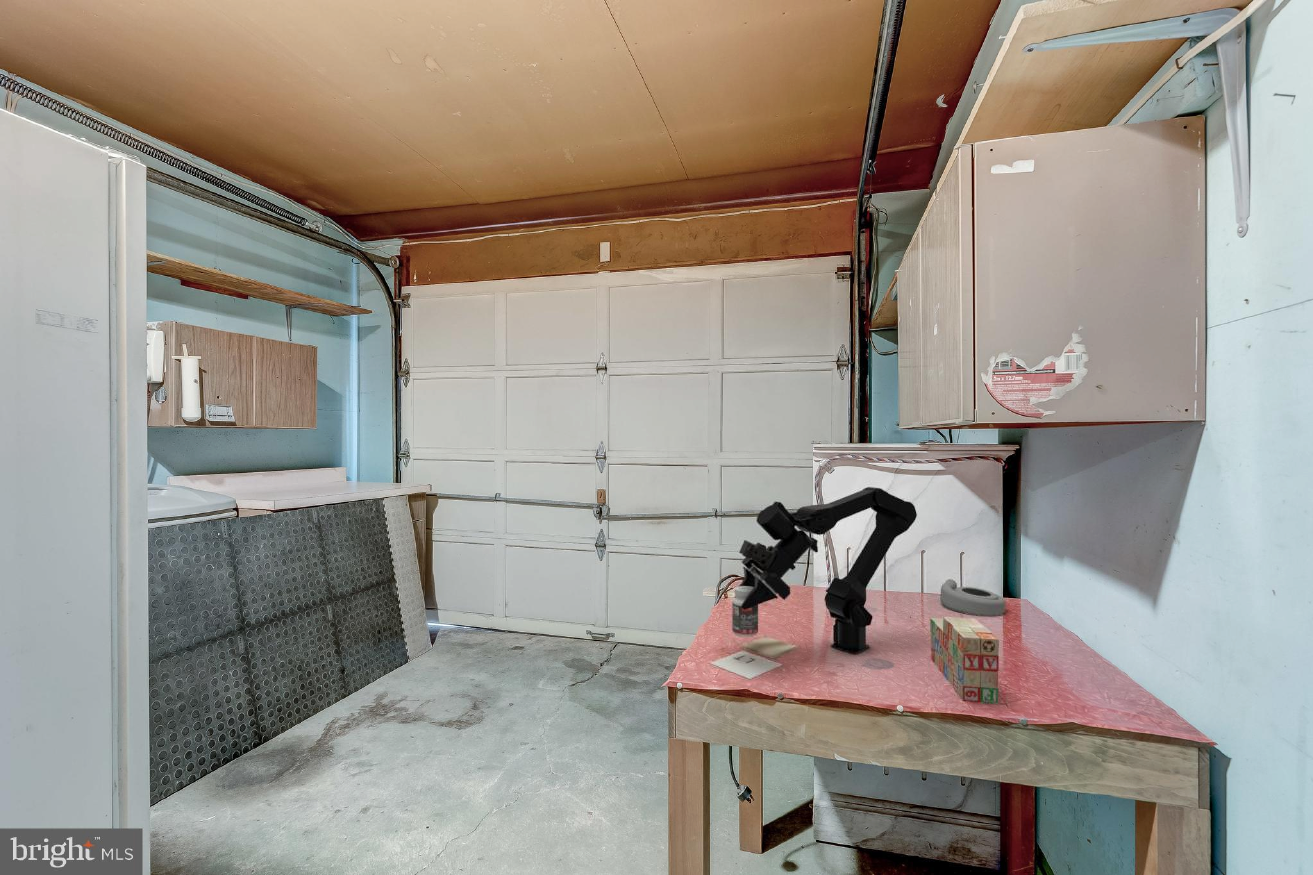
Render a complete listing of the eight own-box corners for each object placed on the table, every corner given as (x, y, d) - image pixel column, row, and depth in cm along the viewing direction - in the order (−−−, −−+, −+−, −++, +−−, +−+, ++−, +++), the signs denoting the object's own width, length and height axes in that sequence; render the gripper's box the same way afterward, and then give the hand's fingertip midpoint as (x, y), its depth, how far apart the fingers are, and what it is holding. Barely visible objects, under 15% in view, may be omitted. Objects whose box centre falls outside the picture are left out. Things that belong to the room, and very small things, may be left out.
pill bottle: (743, 639, 123) (743, 593, 124) (727, 631, 128) (726, 587, 128) (763, 634, 126) (763, 589, 126) (747, 627, 131) (746, 583, 131)
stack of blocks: (930, 659, 128) (930, 603, 128) (960, 661, 127) (960, 605, 127) (962, 702, 107) (962, 636, 107) (999, 705, 106) (999, 638, 106)
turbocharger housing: (998, 625, 155) (1008, 612, 166) (1000, 601, 155) (1010, 590, 166) (931, 609, 166) (945, 597, 177) (933, 586, 165) (946, 577, 177)
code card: (782, 665, 124) (782, 664, 124) (749, 679, 117) (749, 678, 117) (742, 651, 132) (742, 650, 132) (710, 663, 125) (710, 663, 125)
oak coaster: (796, 648, 134) (796, 646, 134) (773, 658, 128) (773, 655, 128) (765, 638, 140) (765, 636, 140) (741, 647, 134) (741, 645, 134)
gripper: (749, 522, 137) (704, 570, 136) (775, 535, 119) (723, 590, 117) (781, 553, 138) (737, 601, 137) (811, 571, 120) (761, 627, 118)
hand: (738, 604), depth 127 cm, fingers closed on pill bottle, 6 cm apart
